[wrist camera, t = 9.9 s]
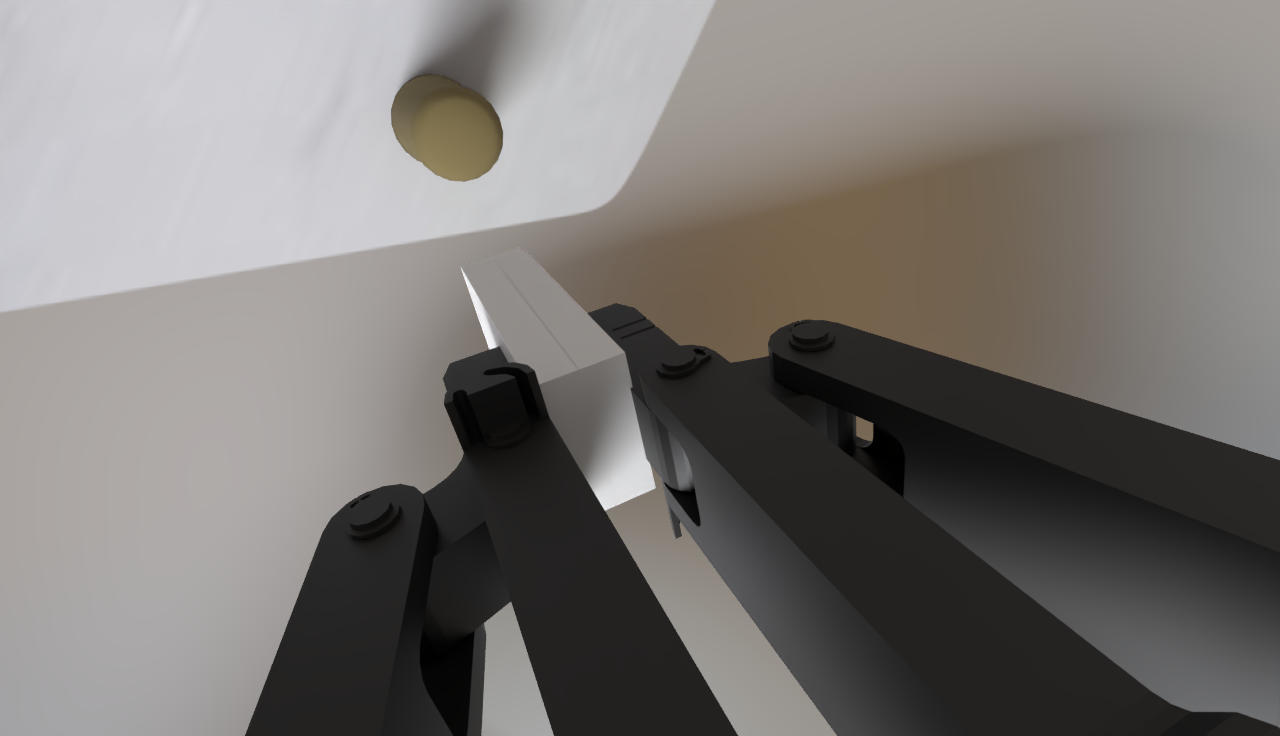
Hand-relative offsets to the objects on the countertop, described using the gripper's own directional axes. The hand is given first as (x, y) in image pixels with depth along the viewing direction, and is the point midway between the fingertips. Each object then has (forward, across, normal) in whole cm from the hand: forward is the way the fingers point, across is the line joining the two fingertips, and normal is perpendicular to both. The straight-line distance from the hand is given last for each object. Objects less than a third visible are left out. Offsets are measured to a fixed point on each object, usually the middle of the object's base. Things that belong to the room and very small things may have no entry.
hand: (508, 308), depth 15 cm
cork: (+35, +3, +1) cm, 35 cm away
